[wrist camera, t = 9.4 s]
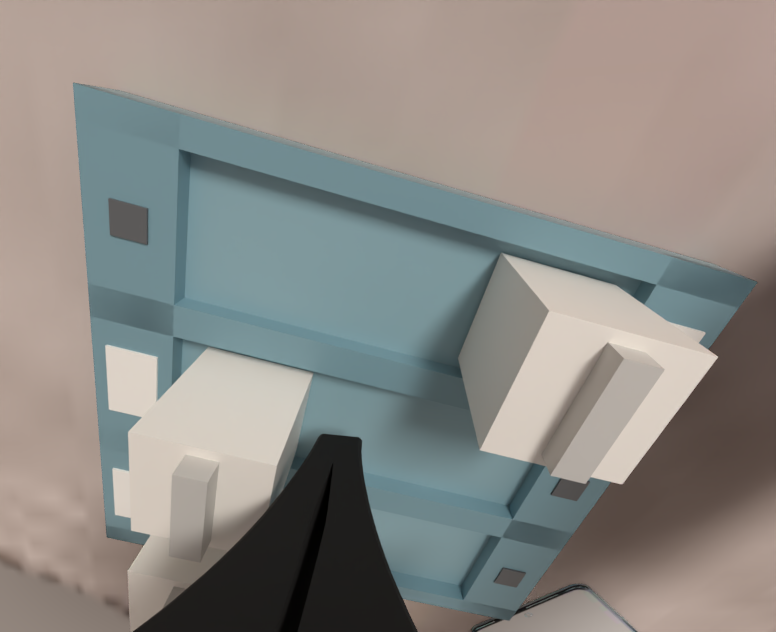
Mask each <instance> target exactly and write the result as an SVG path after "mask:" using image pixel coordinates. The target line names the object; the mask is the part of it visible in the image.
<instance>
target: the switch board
mask: <svg viewBox="0 0 776 632" xmlns="http://www.w3.org/2000/svg"><path fill="white" fill-rule="evenodd" d="M73 90H74V103H75V117H76V130H77V144H78V157H79V170H80V184H81V197H82V211H83V224H84V238H85V251H86V265H87V278H88V292H89V305H90V318H91V332H92V345H93V359H94V372H95V386H96V399H97V413H98V426H99V440H100V453H101V466H102V480H103V493H104V507H105V520H106V534H107V537H108V538H112V539H117V540H122V541H127V542H132V543H136V544H141V545H145V543H146V541H147V540H148V538H149V537H150V535H149V534H145V533H140V532H135V531H131V510H130V478H129V447H128V431H129V430H130V429H131V428H132V427H133V426H134V425H135V424H136V423H137V422H138V421H139V420H140V419H141V418H142V417H143V416H144V415H145V413H146V412H147V411H148V410H149V409H150V408H151V407H152V406H153V405H154V404H155V403H156V402H157V401H158V400H159V399H160V398H161V397H162V395H163V394H164V393H165V392H166V391H167V390H168V389H169V388H170V387H171V386H172V385H173V384H174V383H175V382H176V381H177V380H178V379H179V377H180V376H181V375H182V374H183V373H184V372H185V371H186V370H187V369H188V368H189V367H190V366H191V365H192V364H193V363H194V362H195V361H196V360H197V358H198V357H199V356H200V355H201V354H202V353H203V352H204V351H205V350H206V349H207V348H208V347H212V348H216V349H220V350H224V351H228V352H232V353H236V354H240V355H245V356H249V357H253V358H257V359H261V360H265V361H269V362H273V363H277V364H281V365H285V366H289V367H293V368H297V369H301V370H305V371H309V372H313V378H312V382H311V387H310V391H309V396H308V400H307V405H306V409H305V414H304V418H303V423H302V427H301V432H300V436H299V441H298V445H297V450H296V453H295V456H294V459H293V461H292V464H291V467H290V470H289V473H288V476H287V479H286V481H285V484H284V487H283V489H284V488H285V487H286V486H287V484H288V483H289V481H290V480H291V479H292V477H293V476H294V475H295V473H296V472H297V470H298V469H299V468H300V466H301V465H302V463H303V462H304V460H305V459H306V457H307V456H308V454H309V452H310V451H311V449H312V448H313V446H314V444H315V442H316V441H317V439H318V437H319V436H320V435H321V434H332V435H342V436H352V437H359V438H360V439H361V440H362V465H363V474H364V480H365V485H366V490H367V495H368V500H369V504H370V508H371V512H372V516H373V519H374V523H375V526H376V530H377V533H378V536H379V539H380V542H381V545H382V548H383V551H384V554H385V557H386V560H387V562H388V565H389V568H390V570H391V573H392V575H393V578H394V580H395V582H396V585H397V587H398V589H399V592H400V594H401V596H402V599H406V600H411V601H416V602H420V603H425V604H430V605H435V606H440V607H445V608H449V609H454V610H459V611H464V612H469V613H473V614H478V615H483V616H488V617H493V618H497V619H502V620H507V621H510V619H511V618H512V617H513V615H514V614H515V613H516V611H517V610H518V609H519V607H520V606H521V604H522V603H523V602H524V600H525V599H526V598H527V596H528V595H529V594H530V592H531V591H532V589H533V588H534V587H535V585H536V584H537V583H538V581H539V580H540V579H541V577H542V576H543V574H544V573H545V572H546V570H547V569H548V568H549V566H550V565H551V564H552V562H553V561H554V559H555V558H556V557H557V555H558V554H559V553H560V551H561V550H562V549H563V547H564V546H565V544H566V543H567V542H568V540H569V539H570V538H571V536H572V535H573V534H574V532H575V531H576V529H577V528H578V527H579V525H580V524H581V523H582V521H583V520H584V518H585V517H586V516H587V514H588V513H589V512H590V510H591V509H592V508H593V506H594V505H595V503H596V502H597V501H598V499H599V498H600V497H601V495H602V494H603V493H604V491H605V490H606V488H607V487H608V486H609V484H610V483H611V482H609V481H605V480H601V479H597V478H593V477H590V478H589V480H588V481H587V483H586V484H583V483H579V482H575V481H571V480H567V479H563V478H558V477H554V476H550V474H549V471H548V469H547V467H546V466H543V465H539V464H535V463H531V462H526V461H522V460H518V459H514V458H510V457H506V456H501V455H497V454H493V453H489V452H485V451H481V450H480V449H479V445H478V441H477V437H476V432H475V428H474V424H473V420H472V415H471V411H470V407H469V403H468V398H467V394H466V390H465V386H464V382H463V377H462V373H461V369H460V365H459V360H458V357H459V354H460V352H461V349H462V347H463V344H464V342H465V339H466V337H467V335H468V332H469V330H470V327H471V325H472V322H473V320H474V317H475V315H476V313H477V310H478V308H479V305H480V303H481V300H482V298H483V295H484V293H485V291H486V288H487V286H488V283H489V281H490V278H491V276H492V273H493V271H494V269H495V266H496V264H497V261H498V259H499V256H500V254H501V253H504V254H508V255H512V256H515V257H519V258H522V259H526V260H529V261H533V262H536V263H540V264H543V265H547V266H551V267H554V268H558V269H561V270H565V271H568V272H572V273H575V274H579V275H582V276H586V277H590V278H593V279H597V280H600V281H604V282H607V283H611V284H614V285H617V286H618V287H619V288H621V289H622V290H624V291H625V292H626V293H628V294H629V295H631V296H632V297H634V298H635V299H636V300H638V301H639V302H641V303H642V304H644V305H645V306H646V307H648V308H649V309H651V310H652V311H654V312H655V313H656V314H658V315H659V316H661V317H662V318H664V319H665V320H666V321H668V322H669V323H671V324H672V325H674V326H675V327H676V328H678V329H679V330H681V331H682V332H684V333H685V334H686V335H688V336H689V337H691V338H692V339H694V340H695V341H696V342H698V343H699V344H701V345H702V346H704V347H705V348H706V349H709V348H710V347H711V345H712V344H713V342H714V341H715V340H716V338H717V337H718V336H719V334H720V333H721V332H722V330H723V329H724V327H725V326H726V325H727V323H728V322H729V321H730V319H731V318H732V317H733V315H734V314H735V312H736V311H737V310H738V308H739V307H740V306H741V304H742V303H743V302H744V300H745V299H746V297H747V296H748V295H749V293H750V292H751V291H752V289H753V288H754V286H755V285H756V284H757V282H756V281H754V280H751V279H749V278H746V277H744V276H742V275H739V274H737V273H734V272H732V271H729V270H727V269H724V268H722V267H720V266H717V265H715V264H711V263H708V262H705V261H701V260H698V259H694V258H691V257H688V256H684V255H681V254H677V253H674V252H670V251H667V250H664V249H660V248H657V247H653V246H650V245H647V244H643V243H640V242H636V241H633V240H629V239H626V238H623V237H619V236H616V235H612V234H609V233H605V232H602V231H599V230H595V229H592V228H588V227H585V226H582V225H578V224H575V223H571V222H568V221H564V220H561V219H558V218H554V217H551V216H547V215H544V214H540V213H537V212H534V211H530V210H527V209H523V208H520V207H517V206H513V205H510V204H506V203H503V202H499V201H496V200H493V199H489V198H486V197H482V196H479V195H475V194H472V193H469V192H465V191H462V190H458V189H455V188H452V187H448V186H445V185H441V184H438V183H434V182H431V181H428V180H424V179H421V178H417V177H414V176H410V175H407V174H404V173H400V172H397V171H393V170H390V169H387V168H383V167H380V166H376V165H373V164H369V163H366V162H363V161H359V160H356V159H352V158H349V157H346V156H342V155H339V154H335V153H332V152H328V151H325V150H322V149H318V148H315V147H311V146H308V145H304V144H301V143H298V142H294V141H291V140H287V139H284V138H281V137H277V136H274V135H270V134H267V133H263V132H260V131H257V130H253V129H250V128H246V127H243V126H239V125H236V124H233V123H229V122H226V121H222V120H219V119H216V118H212V117H209V116H205V115H202V114H198V113H195V112H192V111H188V110H185V109H181V108H178V107H174V106H171V105H168V104H164V103H161V102H157V101H154V100H151V99H147V98H144V97H140V96H137V95H133V94H130V93H127V92H123V91H120V90H114V89H108V88H102V87H96V86H90V85H84V84H78V83H73Z"/></svg>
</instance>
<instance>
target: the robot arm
mask: <svg viewBox="0 0 776 632" xmlns="http://www.w3.org/2000/svg"><path fill="white" fill-rule="evenodd" d="M133 632H418V631H417V629H416V627H415V625H414V623H413V621H412V619H411V617H410V615H409V612H408V610H407V608H406V606H405V603H404V601H403V599H402V596H401V594H400V592H399V589H398V587H397V585H396V582H395V580H394V578H393V575H392V573H391V570H390V568H389V565H388V562H387V560H386V557H385V554H384V551H383V548H382V545H381V542H380V539H379V536H378V533H377V530H376V526H375V523H374V519H373V516H372V512H371V508H370V504H369V500H368V495H367V490H366V485H365V480H364V474H363V465H362V440H361V439H360V438H359V437H352V436H342V435H332V434H321V435H320V436H319V437H318V439H317V441H316V442H315V444H314V446H313V448H312V449H311V451H310V452H309V454H308V456H307V457H306V459H305V460H304V462H303V463H302V465H301V466H300V468H299V469H298V470H297V472H296V473H295V475H294V476H293V477H292V479H291V480H290V481H289V483H288V484H287V486H286V487H285V488H284V490H283V491H282V492H281V493H280V494H279V496H278V497H277V498H276V499H275V501H274V502H273V503H272V504H271V506H270V507H269V508H268V509H267V510H266V512H265V513H264V514H263V515H262V516H261V517H260V518H259V520H258V521H257V522H256V523H255V524H254V525H253V526H252V527H251V528H250V529H249V531H248V532H247V533H246V534H245V535H244V536H243V537H242V538H241V539H240V540H239V541H238V542H237V543H236V544H235V545H234V546H233V547H232V548H231V549H230V550H229V551H228V552H227V553H226V554H225V555H224V556H223V557H222V558H221V559H220V560H219V561H218V562H216V563H215V564H214V565H213V566H212V567H211V568H210V569H209V570H208V571H207V572H206V573H204V574H203V575H202V576H201V577H200V578H199V579H197V580H196V581H195V582H194V583H193V584H192V585H190V586H189V587H188V588H187V589H186V590H185V591H183V592H182V593H181V594H180V595H179V596H178V597H176V598H175V599H174V600H173V601H172V602H170V603H169V604H168V605H167V606H165V607H164V608H163V609H162V610H160V611H159V612H158V613H156V614H155V615H154V616H152V617H151V618H150V619H149V620H147V621H146V622H145V623H143V624H142V625H141V626H139V627H138V628H137V629H135V630H134V631H133Z"/></svg>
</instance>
